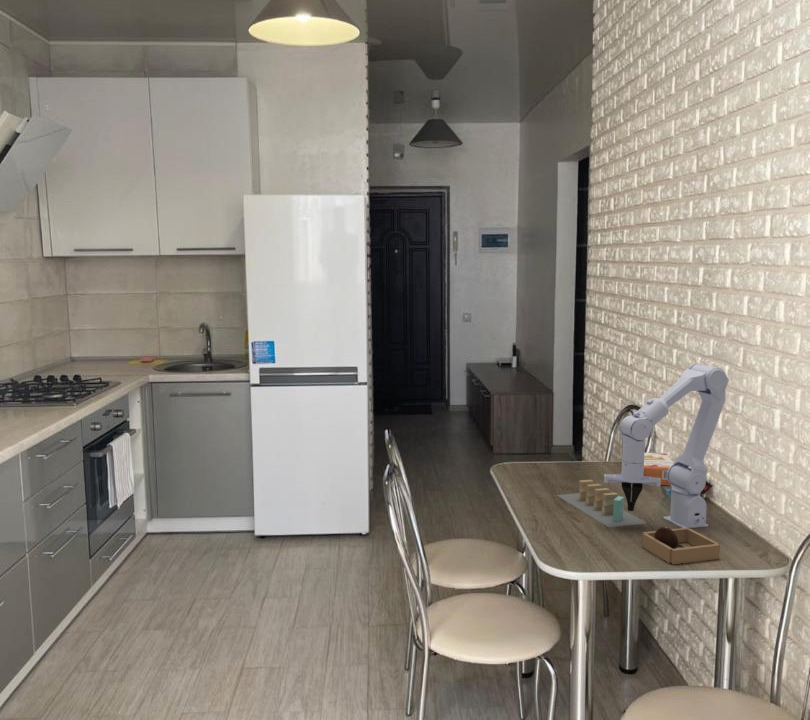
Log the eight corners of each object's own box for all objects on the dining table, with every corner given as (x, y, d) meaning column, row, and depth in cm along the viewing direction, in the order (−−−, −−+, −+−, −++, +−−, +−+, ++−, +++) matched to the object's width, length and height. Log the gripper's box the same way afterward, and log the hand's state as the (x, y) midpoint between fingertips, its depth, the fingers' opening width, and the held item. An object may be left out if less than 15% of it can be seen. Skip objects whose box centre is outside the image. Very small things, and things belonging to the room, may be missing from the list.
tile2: (617, 514, 224) (618, 494, 223) (604, 515, 222) (605, 495, 222) (614, 512, 225) (615, 492, 224) (601, 514, 224) (602, 493, 223)
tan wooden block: (608, 509, 228) (609, 489, 227) (596, 510, 227) (597, 490, 226) (605, 508, 229) (606, 488, 229) (593, 509, 228) (594, 489, 228)
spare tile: (623, 517, 221) (623, 497, 220) (618, 521, 218) (619, 500, 217) (617, 516, 222) (618, 496, 221) (612, 520, 218) (613, 499, 218)
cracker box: (633, 466, 254) (624, 451, 275) (632, 484, 255) (624, 467, 275) (678, 467, 252) (666, 452, 273) (677, 486, 253) (665, 469, 273)
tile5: (592, 500, 236) (593, 481, 236) (580, 501, 235) (581, 482, 235) (590, 498, 238) (590, 479, 237) (578, 500, 237) (578, 480, 236)
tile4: (600, 504, 232) (601, 485, 231) (588, 506, 231) (589, 486, 230) (597, 503, 234) (598, 483, 233) (585, 504, 233) (586, 484, 232)
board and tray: (720, 558, 192) (721, 544, 192) (667, 565, 188) (668, 551, 188) (599, 492, 246) (600, 481, 245) (556, 496, 242) (556, 485, 241)
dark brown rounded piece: (692, 552, 197) (693, 524, 196) (674, 560, 192) (676, 531, 191) (664, 543, 203) (665, 516, 202) (646, 550, 198) (647, 522, 197)
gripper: (660, 459, 214) (657, 507, 215) (604, 455, 217) (602, 503, 219) (662, 465, 207) (659, 515, 209) (605, 461, 210) (603, 511, 212)
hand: (630, 510), depth 213 cm, fingers closed
